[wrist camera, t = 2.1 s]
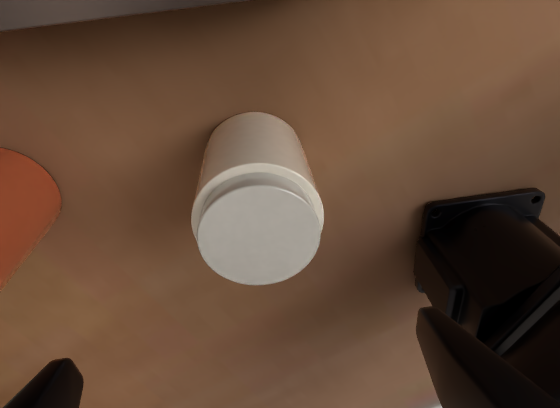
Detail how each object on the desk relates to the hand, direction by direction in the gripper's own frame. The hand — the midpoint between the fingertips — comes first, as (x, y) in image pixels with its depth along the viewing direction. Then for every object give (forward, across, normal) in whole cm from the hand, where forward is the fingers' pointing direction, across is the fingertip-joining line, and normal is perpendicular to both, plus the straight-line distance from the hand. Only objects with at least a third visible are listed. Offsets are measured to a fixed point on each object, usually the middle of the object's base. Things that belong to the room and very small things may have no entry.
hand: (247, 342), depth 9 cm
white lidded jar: (+10, 0, 0) cm, 10 cm away
